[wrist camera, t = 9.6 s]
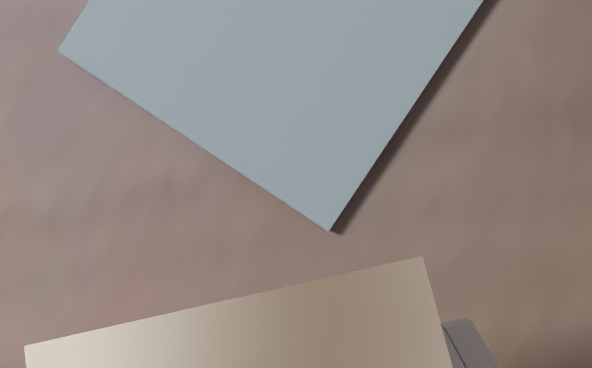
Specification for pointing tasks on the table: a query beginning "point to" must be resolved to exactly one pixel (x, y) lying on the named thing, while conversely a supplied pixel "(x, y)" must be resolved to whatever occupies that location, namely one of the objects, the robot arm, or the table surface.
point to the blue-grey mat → (275, 80)
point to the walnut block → (277, 329)
